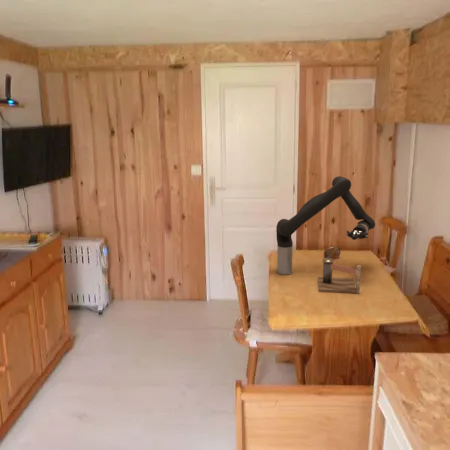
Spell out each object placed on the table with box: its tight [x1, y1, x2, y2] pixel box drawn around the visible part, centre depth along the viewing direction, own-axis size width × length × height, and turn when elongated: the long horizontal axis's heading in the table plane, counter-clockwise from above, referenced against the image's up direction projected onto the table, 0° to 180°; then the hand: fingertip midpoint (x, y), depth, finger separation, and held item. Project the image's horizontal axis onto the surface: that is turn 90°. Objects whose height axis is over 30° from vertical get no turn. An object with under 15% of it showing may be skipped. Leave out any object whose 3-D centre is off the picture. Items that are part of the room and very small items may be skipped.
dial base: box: [317, 264, 362, 295], centre depth 260 cm, size 20×22×16 cm
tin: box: [323, 245, 341, 261], centre depth 308 cm, size 15×3×8 cm, turn 129°
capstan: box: [322, 257, 357, 283], centre depth 258 cm, size 20×6×13 cm, turn 49°
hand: (353, 238), depth 257 cm, fingers closed
